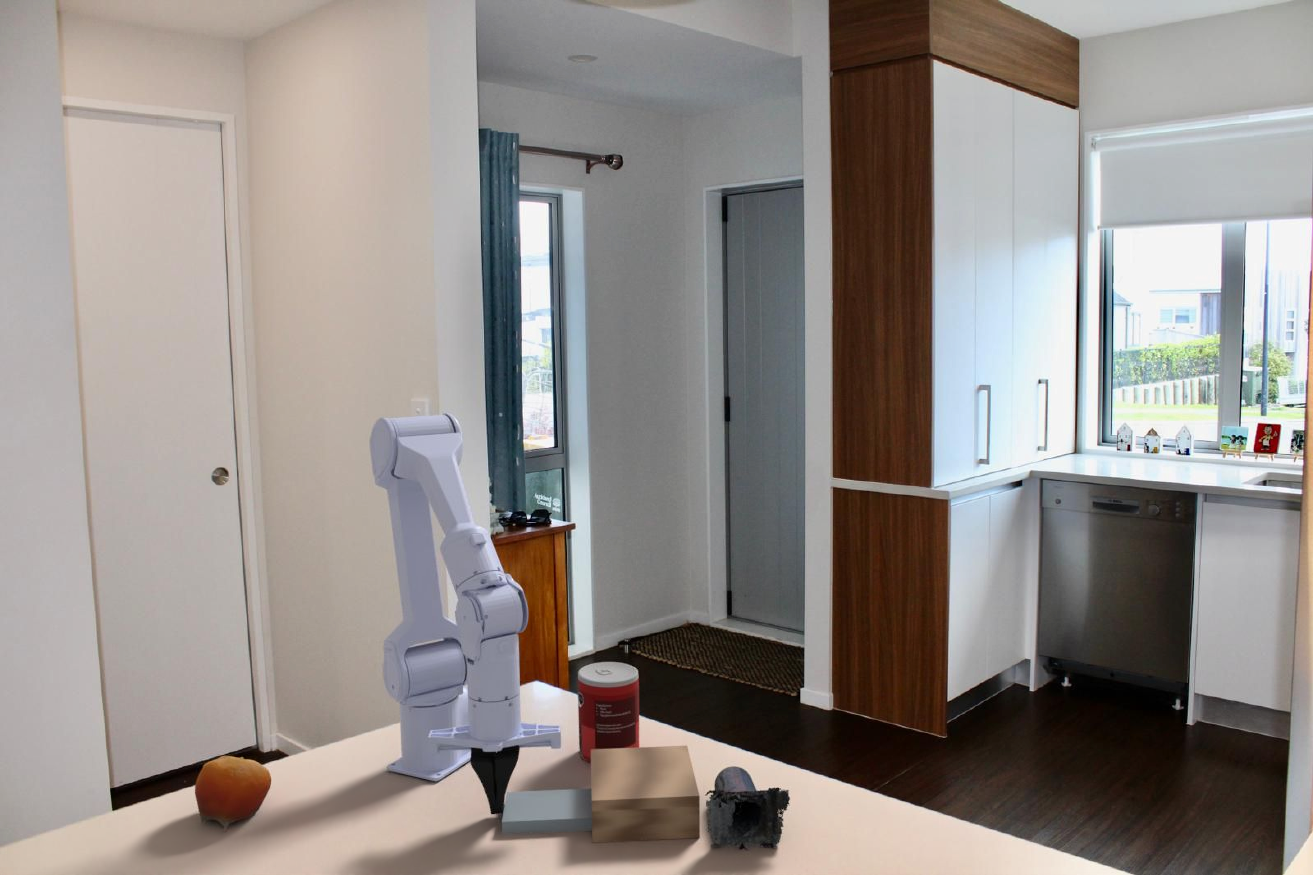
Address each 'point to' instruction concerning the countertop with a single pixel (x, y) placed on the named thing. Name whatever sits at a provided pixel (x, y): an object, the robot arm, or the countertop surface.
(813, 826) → the countertop surface
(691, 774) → the brown wooden block
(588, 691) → the canned food
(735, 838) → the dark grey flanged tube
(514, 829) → the tile
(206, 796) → the fruit
